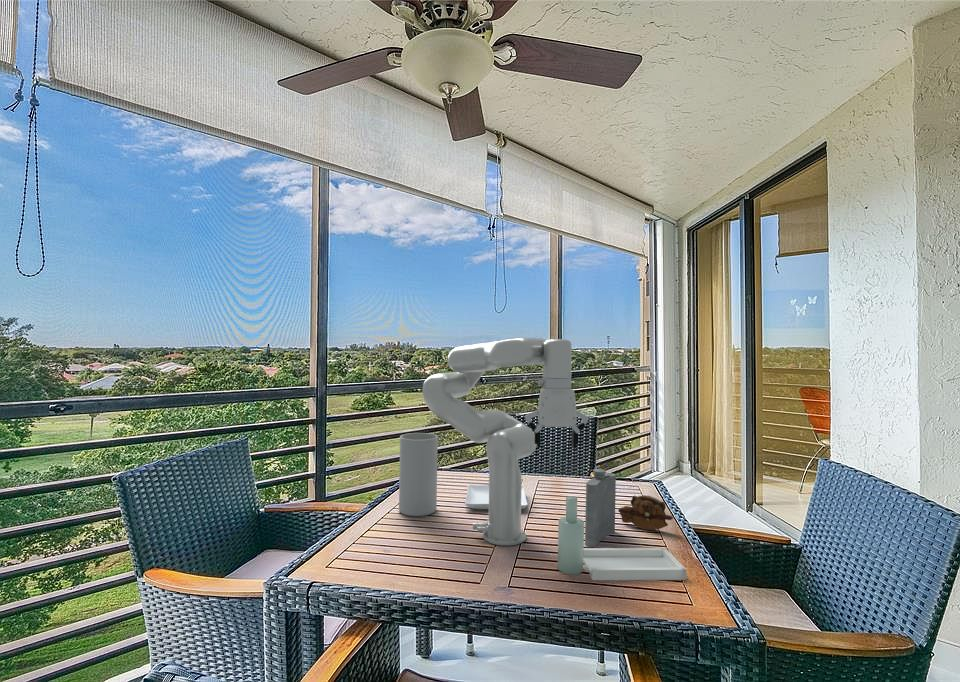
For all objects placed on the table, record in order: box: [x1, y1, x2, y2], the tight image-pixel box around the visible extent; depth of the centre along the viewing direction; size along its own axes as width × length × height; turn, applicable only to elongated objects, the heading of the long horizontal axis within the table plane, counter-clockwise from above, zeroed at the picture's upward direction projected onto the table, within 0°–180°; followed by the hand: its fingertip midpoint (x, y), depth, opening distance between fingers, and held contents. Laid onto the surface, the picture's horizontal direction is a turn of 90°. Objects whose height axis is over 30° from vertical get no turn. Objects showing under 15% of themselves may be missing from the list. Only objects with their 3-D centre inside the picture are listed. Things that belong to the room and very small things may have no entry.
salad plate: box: [464, 484, 529, 511], centre depth 181 cm, size 21×21×3 cm
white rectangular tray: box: [583, 547, 688, 581], centre depth 130 cm, size 23×13×2 cm, turn 93°
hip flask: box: [584, 468, 617, 548], centre depth 150 cm, size 16×4×20 cm, turn 142°
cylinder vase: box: [398, 432, 439, 518], centre depth 171 cm, size 12×12×25 cm
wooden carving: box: [618, 495, 675, 531], centre depth 158 cm, size 16×5×10 cm, turn 64°
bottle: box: [557, 495, 585, 575], centre depth 130 cm, size 6×6×18 cm
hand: (556, 446), depth 139 cm, fingers open, 9 cm apart
